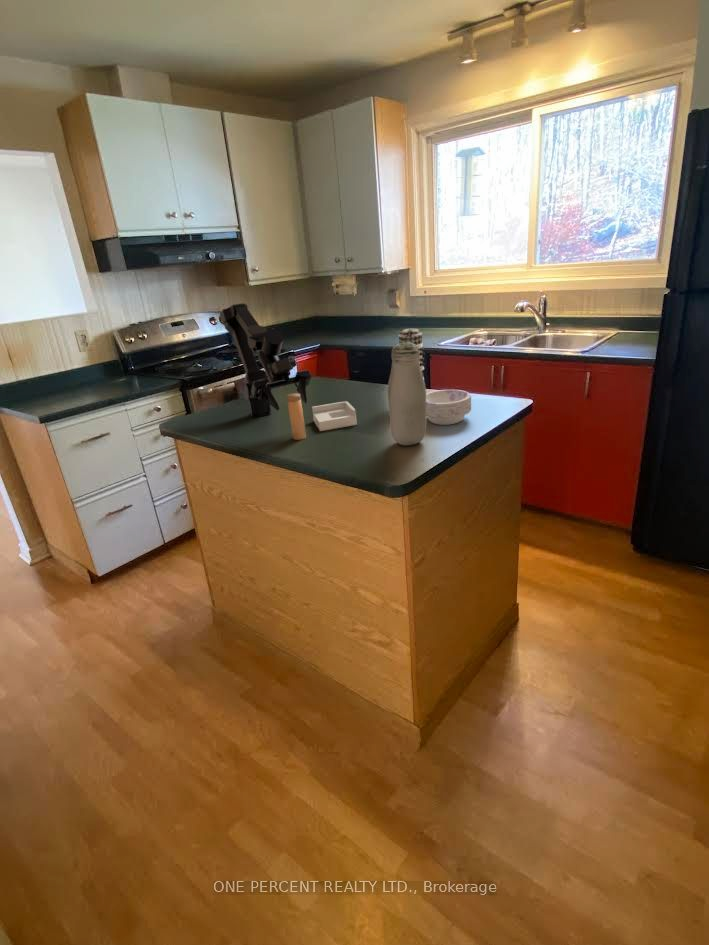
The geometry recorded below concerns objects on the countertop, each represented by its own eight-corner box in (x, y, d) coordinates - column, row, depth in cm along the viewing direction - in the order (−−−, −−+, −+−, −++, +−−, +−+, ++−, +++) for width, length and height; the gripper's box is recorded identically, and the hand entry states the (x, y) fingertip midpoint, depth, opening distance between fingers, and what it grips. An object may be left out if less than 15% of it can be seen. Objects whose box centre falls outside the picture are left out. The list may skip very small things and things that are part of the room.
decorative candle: (410, 408, 174) (406, 333, 164) (395, 402, 182) (390, 330, 172) (432, 402, 178) (429, 328, 168) (416, 397, 186) (413, 326, 176)
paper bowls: (411, 423, 160) (410, 398, 157) (440, 410, 170) (440, 386, 167) (452, 432, 150) (451, 405, 147) (480, 417, 160) (481, 392, 156)
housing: (320, 431, 162) (318, 415, 160) (313, 421, 172) (311, 406, 170) (357, 424, 164) (355, 409, 162) (348, 415, 174) (347, 400, 172)
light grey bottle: (402, 453, 139) (396, 348, 128) (385, 442, 148) (378, 343, 136) (434, 444, 142) (430, 342, 131) (415, 434, 151) (411, 337, 140)
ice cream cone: (294, 440, 156) (287, 397, 151) (292, 436, 160) (285, 394, 154) (307, 438, 157) (301, 395, 151) (304, 434, 160) (299, 392, 155)
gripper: (247, 354, 150) (267, 398, 145) (304, 343, 158) (326, 384, 153) (243, 377, 159) (262, 418, 155) (297, 365, 167) (317, 404, 163)
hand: (292, 406), depth 156 cm, fingers open, 9 cm apart
